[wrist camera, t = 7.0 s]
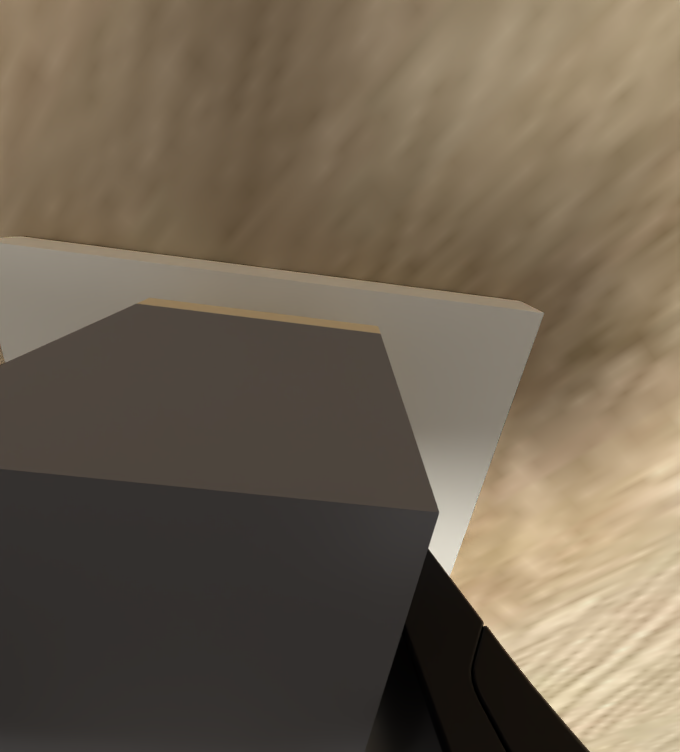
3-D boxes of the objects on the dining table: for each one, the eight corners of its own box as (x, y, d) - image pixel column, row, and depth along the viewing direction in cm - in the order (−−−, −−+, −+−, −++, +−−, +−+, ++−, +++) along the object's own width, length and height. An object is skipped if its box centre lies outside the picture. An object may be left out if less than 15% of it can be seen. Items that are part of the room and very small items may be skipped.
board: (519, 300, 9) (544, 312, 8) (381, 722, 17) (384, 757, 16) (19, 236, 9) (-27, 240, 7) (119, 705, 17) (104, 740, 16)
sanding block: (377, 326, 7) (438, 511, 3) (335, 568, 10) (331, 856, 6) (149, 297, 7) (-187, 450, 3) (170, 553, 10) (28, 841, 5)
